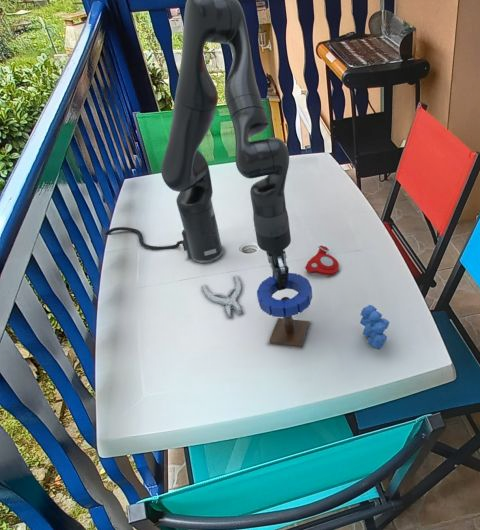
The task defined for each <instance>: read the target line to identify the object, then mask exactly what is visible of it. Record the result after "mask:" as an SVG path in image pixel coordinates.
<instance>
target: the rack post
mask: <svg viewBox="0 0 480 530" xmlns="http://www.w3.org/2000/svg"><path fill="white" fill-rule="evenodd" d="M287 299H291V298H290V297H288V296H283V297H282V298H280V300H287ZM309 325H310V322H309V320H303V319H293V316H289V317H286V315H285V317H277V320H276V323H275V325H274V328H273V329H272V330H273V331H272V332H271V335H270V338H269V340H268V342H269V344H272V345H280V346H281V345H282V346H290V347H303V345H304V344H303V343H304V340H305V337H306V334H307V331H308V328H309Z"/></svg>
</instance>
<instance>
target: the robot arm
mask: <svg viewBox="0 0 480 530" xmlns="http://www.w3.org/2000/svg"><path fill="white" fill-rule="evenodd" d="M247 25H248V24H247V20H246V16H245V13H244V9H243V7H242V4H241V3H240V1H239V0H186V2H185V8H184V15H183V31H182V47H181V59H180V66H179V74H178V79H177V84H176V89H175V96H174V103H173V110H172V111H173V112H172V118H171V124H170V128H169V129H170V130H169V136H168V141H167V145H166V149H165V151H164V155H163V158H162V161H161V165H160V166H161V167H160V168H161V169H160V173H161V178H162V180H163V182H164V183H165V185H166V186H167V187H168V188H169V189H170V190H172V191H174V192H177V193H178V195H177V197H176V199H175V200H176V206H177V210H178V213H179V217H180V220H181V225H182V227H183V230H181V235H182V240H179V241H176V243H175V244H173V245H167V246H156V245H155V246H154V245H150V244H146V243H145V242H144V239H143V235H142V232H141V231H140V230H138V229H136V228H133V227H127V226H118V227H112V228H110V229H108V230H106V232H105V233H104V235H106V236H108V235H110V234H111V233H113V232H116V231H127V232H133V233H136V234H137V235H138V242H139V244H140V245H141V246H142V248H143V247H144V248H145V249H148V250H155V251H161V250H163V251H164V250H171V249H177V248H179V247H180V245H182V248H183V251H185V252H186V253H187V257H188V259H190V260H192V261H194V262H195V263H197V264H210V263H212V262H216V261H218V260H219V259H220V258H221V257H222V256H223V254H224V248H223V245H222V241H221V236H220V230H219V227H218V222H217V219H216V218H217V217H216V214H215V213H216V212H215V209H214V205H213V199H212V197H213V193H214V191H213V190H214V189H213V184H212V178H211V177H212V176H211V172H210V167H209V164H208V161H207V159H206V157H205V156H204V154H202V152H201V151H199V150H198V149H199V147H200V146H201V144H202V142H203V141H204V139H205V138H206V136H207V135H208V133H209V131H210V129H211V127H212V125H213V122H214V119H215V116H216V111H217V107H218V102H219V93H218V90H217V87H216V85H215V83H214V81H213V79H212V76H211V74H210V72H209V71H208V69H207V66H206V64H205V61H204V49H205V46H206V43H211V44H223V45H228V46H229V49H230V51H231V54H232V61H231V66H230V69H229V73H228V74H227V78H226V81H225V85H224V99H225V104H226V107H227V110H228V113H229V116H230V119H231V123H232V126H233V131H234V138H235V141H234V142H235V166H236V168H237V169H236V170H237V171H238V173H239V174H240V175H241V176H243V177H244V178H245V179H248V180H249V179H256V178H260V177H264V178H262V179H260V180H258V181H256V182H255V183H253V184H252V185H251V187H250V190H249V191H250V194H249V195H250V200H251V206H252V213H253V215H252V217H253V219H252V220H253V226H254V232H255V238H256V244H257V246H258V248H259V249H261V250H262V251H264V252H265V253H266V256H267V262H268V263H269V264H270V266H269V267H270V268H271V271H272V275H275V279H276V284H277V289H278V291H279V292H280V291H283V290H287V289H286V288H287V286H286V280H288V273H289V269H290V268H289V266H288V265H287V252H286V249H287V248H288V247H289V246H290V245H291V243H292V237H291V229H290V219H289V214H288V210H287V204H286V196H285V195H286V194H285V186H286V180H287V177H288V176H287V175H288V170H289V167H290V166H289V165H290V152H289V148H288V146H287V144H286V143H285V142H284V141H283V139H281V138H279V137H268V138H264V139H257V140H252V141H249V140H250V139H251V138H252V137H255V136H257V135H259V134H261V133H263V132H265V130H267V128H268V127H269V118H268V114H267V112H266V108H265V105H264V102H263V99H262V96H261V94H260V93H261V92H260V90H259V86H258V83H257V78H256V73H255V67H254V61H253V55H252V47H251V43H250V38H249V32H248V26H247Z"/></svg>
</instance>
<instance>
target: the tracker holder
mask: <svg viewBox="0 0 480 530" xmlns="http://www.w3.org/2000/svg"><path fill="white" fill-rule="evenodd" d="M317 248H318V251H317V252H316V254H315V255H314V256H312V257H311V258H310V259H309V260H308V261H307V262H306V266H305V267H304V268H305V271H306V273H307V274H310V273H312V274H319V275H322V276H334V275H336V274H337V273H338V272H339V268H340V264H339V261H338V260H337V259H336V258H335V257H334V256H333V255H331V254H329V253H327V252H329V251H330V250H329V249H328V248H329V247H327V246H326V245H322V244H321V245H318V246H317Z"/></svg>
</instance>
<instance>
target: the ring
mask: <svg viewBox="0 0 480 530" xmlns="http://www.w3.org/2000/svg"><path fill="white" fill-rule="evenodd" d="M286 286H287V288H286V289H285V290H293V291H295V292H297V294H295V295H294V296H293V297H292V298H290V299H287V300H281V299H277V298H275V297H274V296H273V295H274V294H276V293H277V292H278V291H279V290H278V289H277V284H276V279H275V275H273V274H272V275H270V276H268V277H267V278H265V279H264V280H262V281H261V283H260V284H259V285H258V288H257V290H256V297H257V302H258V305H259V308H260V310H261V311H262V312H264V313H266V314H267V315H269V316H270V317H271V316H272V317H276V318H283V317H285V315H286V317H289V316H292V317H293V316H297V315H299V314H301V313H302V312H303V311H305V310H306V309H307V308H309V306H311V303H312V299H313V287H312V285H311V283H310V281H309V279H308V278H307V277H305V276H303V275H301V274H299V273H298V274H297V273H296V272H295V273H294V272H288V280H286Z"/></svg>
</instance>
